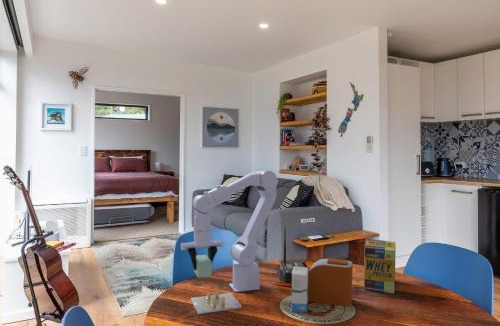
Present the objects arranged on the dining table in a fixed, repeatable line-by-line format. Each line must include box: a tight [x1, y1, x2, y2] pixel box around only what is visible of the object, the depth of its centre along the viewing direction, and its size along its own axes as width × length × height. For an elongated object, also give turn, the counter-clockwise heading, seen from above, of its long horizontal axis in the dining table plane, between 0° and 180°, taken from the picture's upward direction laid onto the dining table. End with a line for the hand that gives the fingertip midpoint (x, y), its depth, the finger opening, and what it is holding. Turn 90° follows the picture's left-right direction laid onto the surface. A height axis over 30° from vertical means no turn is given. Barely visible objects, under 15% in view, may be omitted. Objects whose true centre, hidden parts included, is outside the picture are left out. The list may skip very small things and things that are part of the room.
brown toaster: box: [308, 258, 354, 308], centre depth 124 cm, size 15×8×14 cm, turn 71°
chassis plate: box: [190, 292, 243, 315], centre depth 120 cm, size 14×12×1 cm
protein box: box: [363, 238, 396, 294], centre depth 139 cm, size 10×15×16 cm
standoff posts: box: [206, 289, 225, 307], centre depth 120 cm, size 4×8×2 cm, turn 20°
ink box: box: [291, 266, 309, 313], centre depth 118 cm, size 8×5×12 cm, turn 168°
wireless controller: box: [275, 227, 310, 283], centre depth 151 cm, size 20×14×17 cm
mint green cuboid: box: [192, 254, 213, 279], centre depth 128 cm, size 5×9×5 cm, turn 19°
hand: (202, 268), depth 128 cm, fingers closed on mint green cuboid, 5 cm apart
